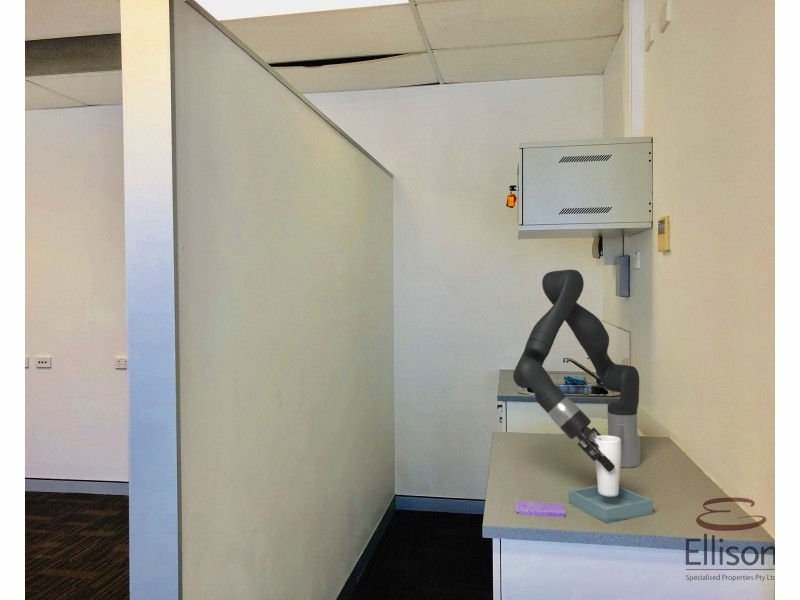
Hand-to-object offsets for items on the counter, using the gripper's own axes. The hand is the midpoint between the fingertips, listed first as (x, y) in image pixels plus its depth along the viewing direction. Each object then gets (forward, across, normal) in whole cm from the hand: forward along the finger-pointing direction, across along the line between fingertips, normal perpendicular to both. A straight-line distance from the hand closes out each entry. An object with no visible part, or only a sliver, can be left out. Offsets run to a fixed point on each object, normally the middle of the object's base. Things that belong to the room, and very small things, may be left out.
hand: (614, 465), depth 150 cm
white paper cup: (+5, 0, +7) cm, 8 cm away
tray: (+7, 0, +9) cm, 12 cm away
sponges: (-3, -10, +21) cm, 24 cm away
